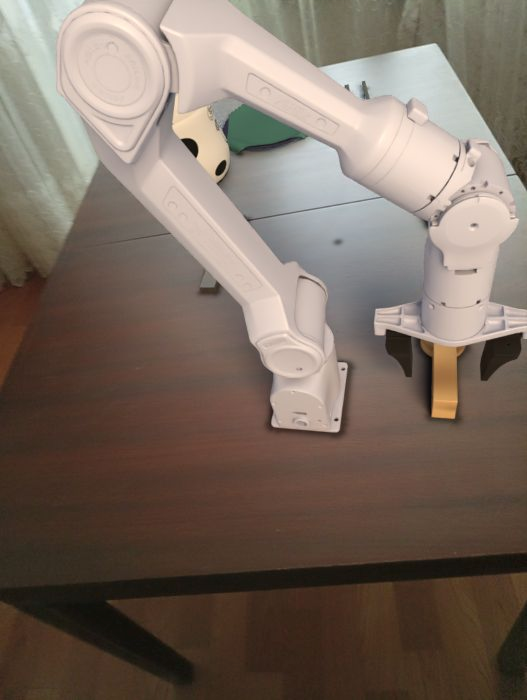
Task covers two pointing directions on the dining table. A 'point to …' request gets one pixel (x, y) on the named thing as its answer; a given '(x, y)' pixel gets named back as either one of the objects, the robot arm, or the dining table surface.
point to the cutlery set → (260, 128)
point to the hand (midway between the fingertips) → (445, 371)
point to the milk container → (203, 139)
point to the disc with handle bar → (443, 378)
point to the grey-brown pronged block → (210, 282)
